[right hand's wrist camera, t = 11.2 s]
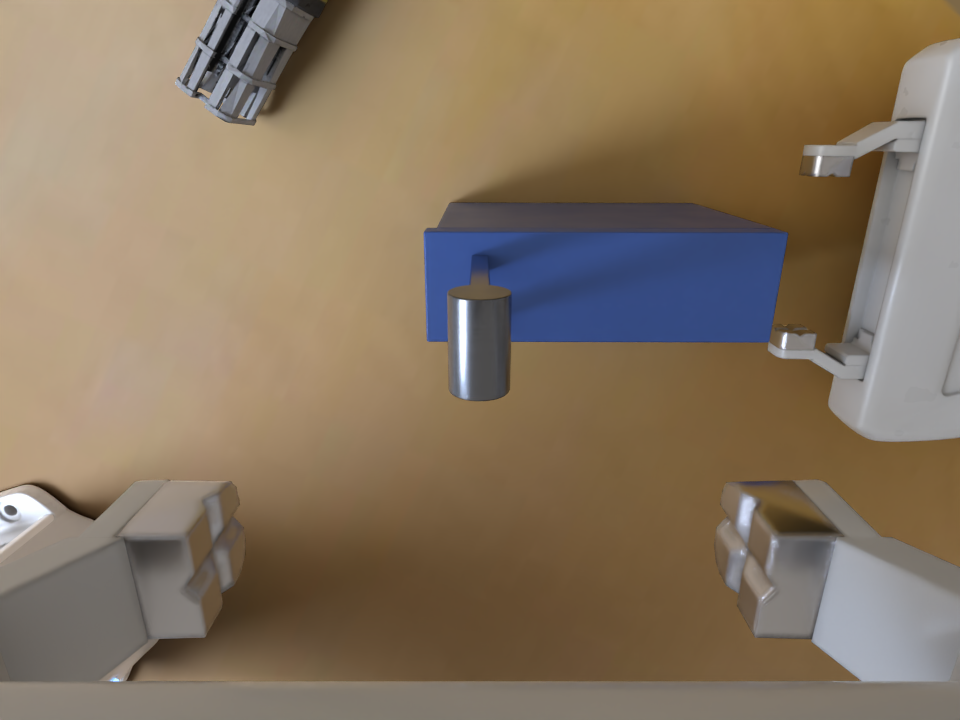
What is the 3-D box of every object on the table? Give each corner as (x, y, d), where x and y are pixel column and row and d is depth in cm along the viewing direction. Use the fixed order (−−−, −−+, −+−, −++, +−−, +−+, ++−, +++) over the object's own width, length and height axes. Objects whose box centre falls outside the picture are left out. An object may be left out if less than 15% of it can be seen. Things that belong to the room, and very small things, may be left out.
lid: (428, 333, 27) (404, 424, 19) (426, 227, 26) (397, 273, 17) (758, 334, 27) (886, 425, 19) (776, 228, 26) (925, 274, 17)
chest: (450, 281, 37) (439, 333, 27) (449, 202, 36) (436, 227, 26) (683, 281, 37) (757, 334, 27) (693, 203, 36) (775, 228, 26)
